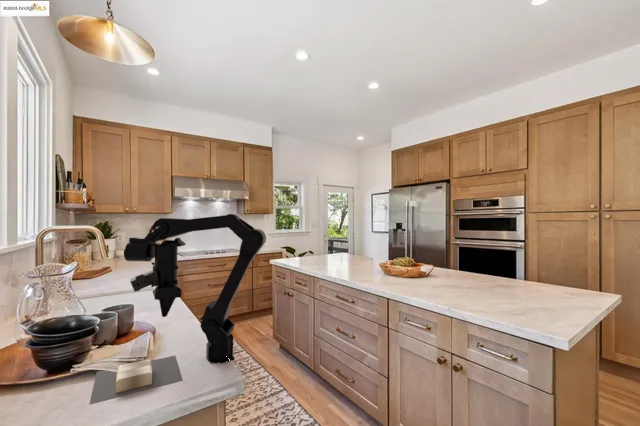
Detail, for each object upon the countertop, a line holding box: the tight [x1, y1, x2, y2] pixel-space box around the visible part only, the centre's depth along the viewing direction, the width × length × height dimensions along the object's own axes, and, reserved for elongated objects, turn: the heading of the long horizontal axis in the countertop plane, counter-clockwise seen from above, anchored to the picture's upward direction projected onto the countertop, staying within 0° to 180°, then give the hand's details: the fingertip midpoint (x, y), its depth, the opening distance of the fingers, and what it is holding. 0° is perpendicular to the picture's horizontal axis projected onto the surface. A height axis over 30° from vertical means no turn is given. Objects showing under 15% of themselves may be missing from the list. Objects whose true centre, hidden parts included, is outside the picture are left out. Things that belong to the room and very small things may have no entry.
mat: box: [89, 355, 183, 405], centre depth 73 cm, size 18×15×1 cm
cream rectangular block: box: [116, 358, 152, 393], centre depth 71 cm, size 7×3×8 cm
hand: (164, 316), depth 83 cm, fingers closed
